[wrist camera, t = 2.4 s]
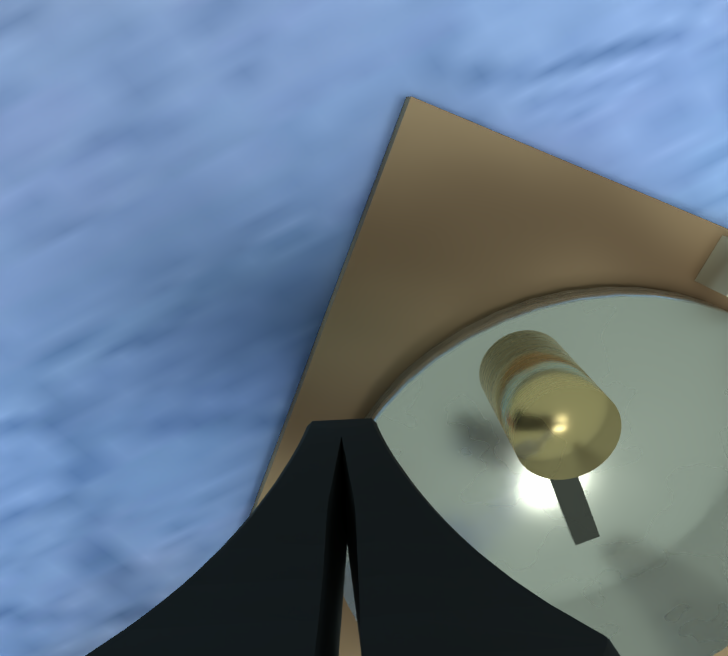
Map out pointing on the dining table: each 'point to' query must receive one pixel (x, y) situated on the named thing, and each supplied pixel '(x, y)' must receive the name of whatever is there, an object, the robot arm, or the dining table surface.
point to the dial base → (478, 261)
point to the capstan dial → (583, 457)
